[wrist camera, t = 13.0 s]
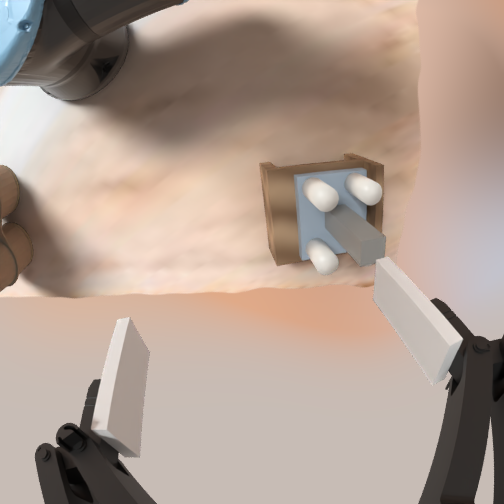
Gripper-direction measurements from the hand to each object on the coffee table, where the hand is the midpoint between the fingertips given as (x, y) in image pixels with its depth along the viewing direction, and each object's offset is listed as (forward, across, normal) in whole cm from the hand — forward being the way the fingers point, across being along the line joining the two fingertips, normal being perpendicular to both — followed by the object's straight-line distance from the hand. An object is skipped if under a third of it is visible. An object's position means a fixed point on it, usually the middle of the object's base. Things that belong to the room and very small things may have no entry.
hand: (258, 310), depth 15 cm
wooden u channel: (+31, +12, -8) cm, 34 cm away
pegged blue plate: (+25, +13, -7) cm, 29 cm away
